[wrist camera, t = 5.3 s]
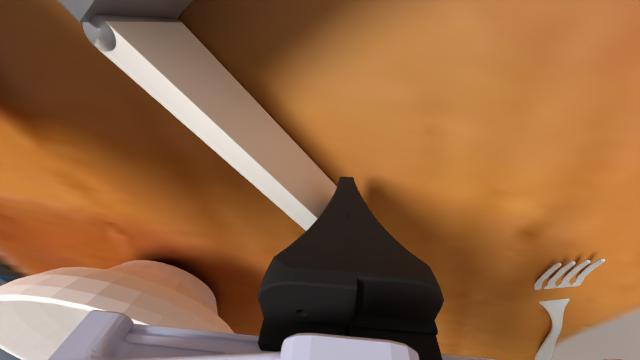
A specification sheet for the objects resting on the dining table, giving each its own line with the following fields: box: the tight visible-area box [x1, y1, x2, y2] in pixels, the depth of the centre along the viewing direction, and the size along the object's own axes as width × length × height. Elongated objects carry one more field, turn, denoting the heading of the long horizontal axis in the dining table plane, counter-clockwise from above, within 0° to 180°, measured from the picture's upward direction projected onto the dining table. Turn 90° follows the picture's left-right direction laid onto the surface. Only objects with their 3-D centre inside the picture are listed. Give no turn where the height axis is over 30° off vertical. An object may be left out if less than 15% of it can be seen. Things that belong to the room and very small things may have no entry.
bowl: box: [0, 260, 235, 360], centre depth 21 cm, size 20×20×7 cm
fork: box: [534, 258, 605, 360], centre depth 21 cm, size 3×24×2 cm, turn 23°
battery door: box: [83, 15, 337, 231], centre depth 12 cm, size 16×2×4 cm, turn 40°
